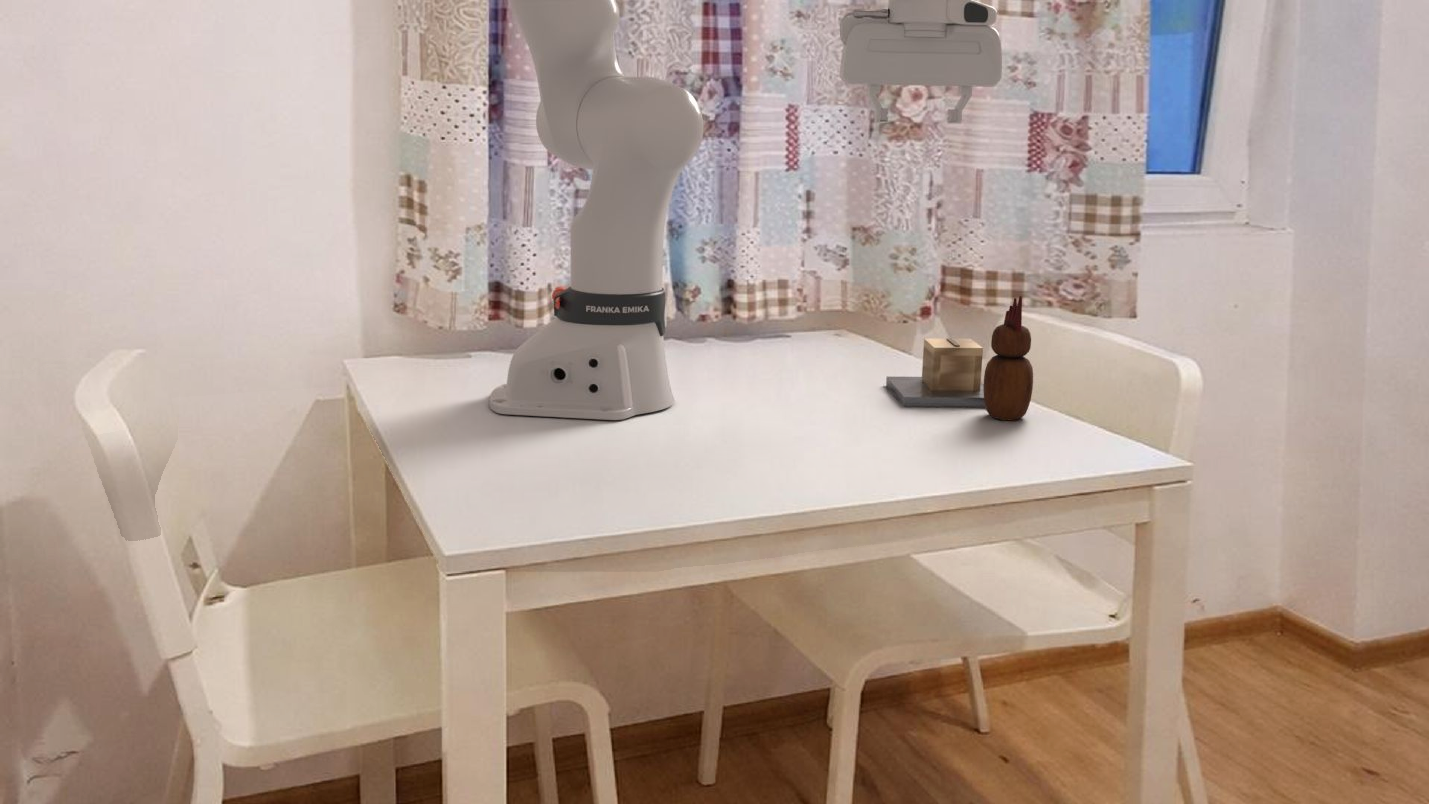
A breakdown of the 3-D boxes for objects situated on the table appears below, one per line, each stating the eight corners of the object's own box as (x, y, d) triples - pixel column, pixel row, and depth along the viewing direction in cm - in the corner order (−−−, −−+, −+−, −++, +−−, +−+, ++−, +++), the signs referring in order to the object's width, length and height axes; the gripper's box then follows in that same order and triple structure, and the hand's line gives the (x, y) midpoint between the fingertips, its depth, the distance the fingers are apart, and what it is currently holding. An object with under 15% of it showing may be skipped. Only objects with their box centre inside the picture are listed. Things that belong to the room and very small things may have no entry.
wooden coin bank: (931, 390, 167) (934, 346, 166) (921, 379, 173) (924, 337, 172) (980, 390, 167) (983, 346, 166) (968, 380, 174) (971, 337, 172)
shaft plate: (903, 406, 163) (905, 365, 162) (886, 385, 175) (888, 346, 174) (998, 407, 164) (1001, 366, 163) (975, 386, 176) (977, 347, 174)
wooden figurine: (1031, 425, 155) (1040, 299, 152) (981, 422, 156) (989, 296, 153) (1029, 412, 162) (1038, 290, 158) (981, 409, 163) (989, 288, 159)
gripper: (844, 6, 161) (840, 122, 165) (1009, 10, 163) (1001, 124, 166) (837, 9, 167) (833, 120, 171) (996, 13, 169) (989, 123, 172)
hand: (917, 122), depth 168 cm, fingers open, 8 cm apart
